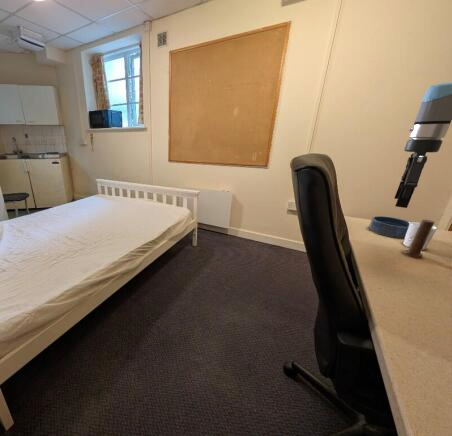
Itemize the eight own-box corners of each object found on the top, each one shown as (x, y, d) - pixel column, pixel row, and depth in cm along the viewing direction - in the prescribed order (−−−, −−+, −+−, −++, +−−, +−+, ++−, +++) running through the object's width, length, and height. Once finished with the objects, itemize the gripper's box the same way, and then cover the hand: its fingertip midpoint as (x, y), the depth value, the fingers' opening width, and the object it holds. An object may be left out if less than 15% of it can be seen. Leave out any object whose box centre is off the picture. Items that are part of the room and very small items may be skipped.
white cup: (426, 252, 92) (437, 230, 89) (400, 245, 98) (408, 225, 94) (427, 246, 97) (437, 225, 93) (402, 240, 103) (410, 220, 99)
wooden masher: (421, 255, 90) (437, 220, 85) (422, 259, 87) (439, 224, 81) (403, 251, 93) (418, 217, 88) (404, 255, 90) (419, 221, 85)
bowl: (409, 232, 112) (414, 221, 110) (411, 242, 101) (417, 230, 99) (369, 224, 122) (372, 214, 120) (367, 232, 111) (371, 221, 109)
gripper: (406, 138, 81) (385, 194, 88) (411, 139, 64) (385, 208, 71) (437, 138, 76) (412, 197, 83) (451, 139, 59) (419, 213, 67)
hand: (400, 202), depth 77 cm, fingers open, 13 cm apart
